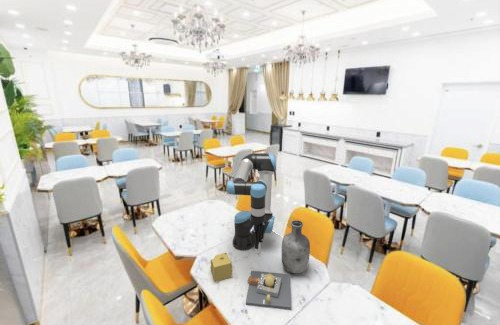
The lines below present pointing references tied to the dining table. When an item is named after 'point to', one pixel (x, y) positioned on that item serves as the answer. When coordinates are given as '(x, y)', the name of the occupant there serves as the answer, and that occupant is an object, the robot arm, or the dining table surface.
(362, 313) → the dining table surface
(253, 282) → the handled square frame
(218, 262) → the cheese
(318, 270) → the dining table surface
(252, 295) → the jig
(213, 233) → the dining table surface
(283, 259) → the vase
